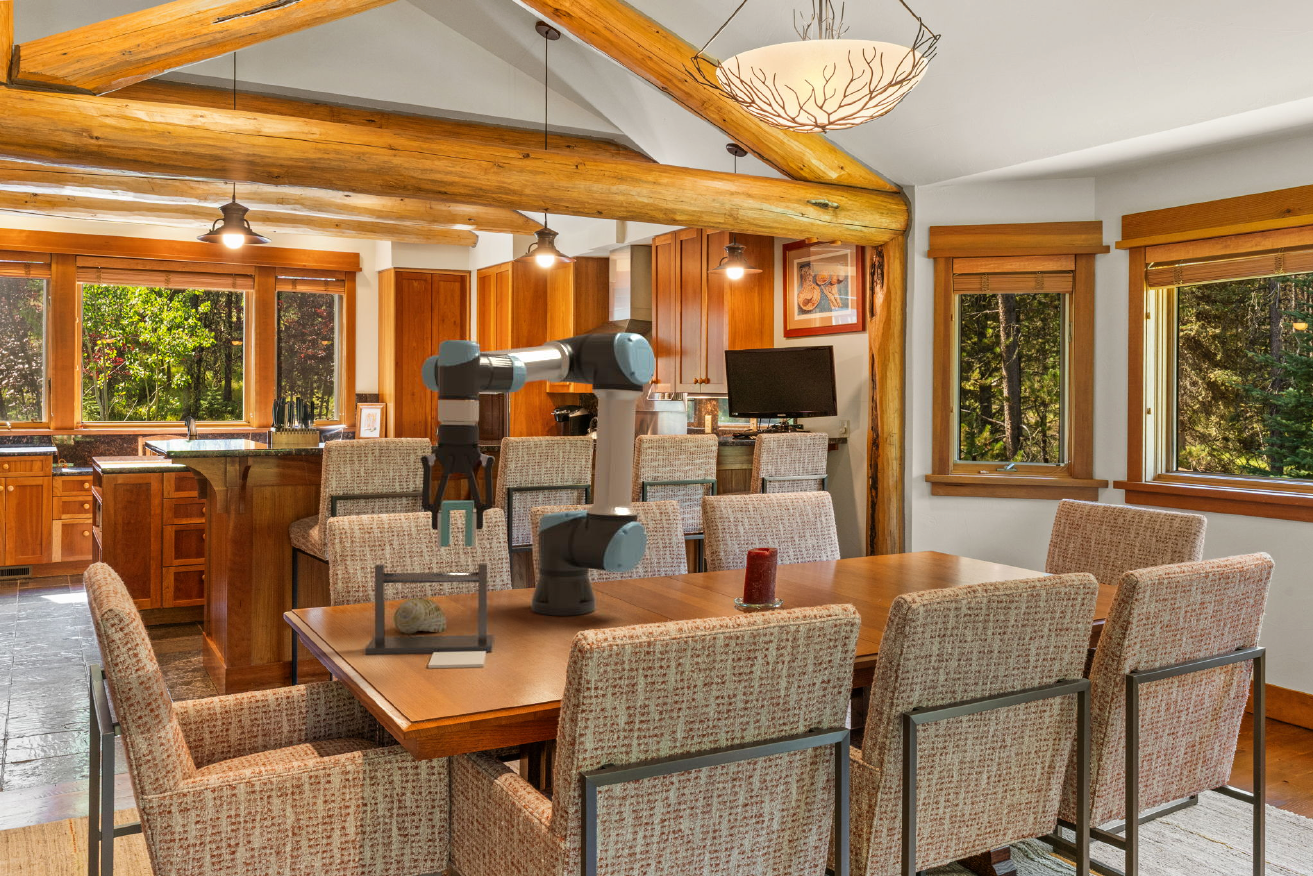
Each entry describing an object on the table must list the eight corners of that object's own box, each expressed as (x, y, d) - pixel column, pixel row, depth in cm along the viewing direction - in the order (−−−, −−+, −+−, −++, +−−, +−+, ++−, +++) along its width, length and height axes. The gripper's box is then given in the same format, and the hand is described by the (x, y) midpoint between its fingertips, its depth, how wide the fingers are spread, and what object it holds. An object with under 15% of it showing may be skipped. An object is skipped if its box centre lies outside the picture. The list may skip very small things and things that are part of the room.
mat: (485, 654, 189) (486, 651, 189) (483, 667, 180) (483, 664, 180) (433, 655, 188) (433, 652, 188) (428, 668, 179) (428, 665, 179)
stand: (493, 640, 199) (494, 560, 199) (491, 652, 190) (491, 567, 190) (373, 642, 196) (373, 561, 196) (365, 654, 188) (365, 569, 187)
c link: (471, 546, 181) (472, 503, 180) (440, 546, 180) (441, 503, 180) (473, 542, 186) (473, 500, 185) (443, 542, 185) (443, 500, 185)
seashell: (455, 622, 212) (447, 586, 207) (434, 652, 204) (425, 615, 199) (413, 617, 214) (404, 580, 210) (391, 646, 206) (381, 609, 202)
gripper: (509, 423, 187) (508, 543, 188) (410, 422, 184) (409, 544, 185) (508, 424, 179) (506, 549, 180) (404, 423, 177) (403, 550, 178)
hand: (457, 546), depth 183 cm, fingers closed on c link, 6 cm apart
